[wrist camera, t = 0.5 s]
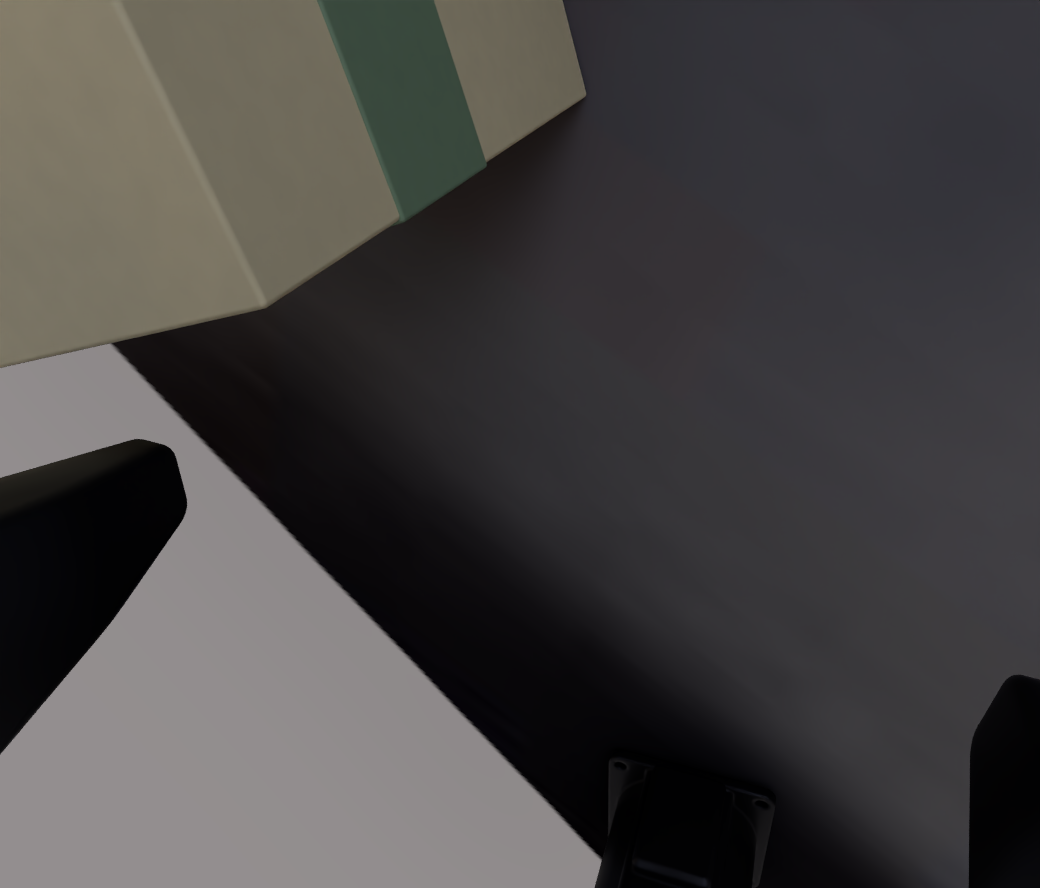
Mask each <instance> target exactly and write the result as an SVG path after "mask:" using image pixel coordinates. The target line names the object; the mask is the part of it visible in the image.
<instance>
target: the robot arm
mask: <svg viewBox="0 0 1040 888" xmlns="http://www.w3.org/2000/svg"><path fill="white" fill-rule="evenodd" d="M186 508H187V498H186V494H185V490H184V486H183V482H182V479H181V475H180V471H179V467H178V464H177V460H176V456H175V454H174V452H173V451H172V450H171V449H170V448H169V447H167V446H165V445H162V444H159V443H155V442H151V441H147V440H142V439H134V440H130V441H126V442H123V443H120V444H116V445H113V446H109V447H106V448H102V449H99V450H95V451H92V452H88V453H85V454H82V455H78V456H75V457H72V458H68V459H65V460H61V461H57V462H54V463H50V464H47V465H44V466H40V467H37V468H33V469H30V470H26V471H23V472H19V473H16V474H12V475H10V476H5V477H2V478H0V754H1V753H2V752H3V750H4V749H5V748H6V747H7V746H8V745H9V743H10V742H11V741H12V740H13V739H14V737H15V736H16V735H17V734H18V733H19V732H20V730H21V729H22V728H23V727H24V725H25V724H26V723H27V722H28V721H29V720H30V718H31V717H32V716H33V715H34V714H35V713H36V711H37V710H38V709H39V708H40V707H41V705H42V704H43V703H44V702H45V701H46V699H47V698H48V697H49V696H50V695H51V694H52V692H53V691H54V690H55V689H56V688H57V686H58V685H59V684H60V683H61V682H62V681H63V679H64V678H65V677H66V676H67V675H68V673H69V672H70V671H71V670H72V669H73V667H74V666H75V665H76V664H77V663H78V662H79V660H80V659H81V658H82V657H83V656H84V654H85V653H86V652H87V651H88V650H89V649H90V647H91V646H92V645H93V644H94V643H95V641H96V640H97V639H98V638H99V637H100V635H101V634H102V633H103V632H104V630H105V629H106V628H107V627H108V625H109V624H110V623H111V622H112V620H113V619H114V617H115V616H116V615H117V613H118V612H119V611H120V609H121V608H122V607H123V605H124V604H125V602H126V601H127V599H128V598H129V596H130V595H131V594H132V592H133V591H134V589H135V588H136V586H137V585H138V583H139V582H140V581H141V579H142V578H143V576H144V575H145V574H146V572H147V570H148V569H149V568H150V566H151V565H152V563H153V562H154V561H155V559H156V558H157V556H158V555H159V553H160V552H161V550H162V549H163V548H164V546H165V545H166V543H167V541H168V540H169V539H170V537H171V536H172V534H173V533H174V532H175V530H176V529H177V527H178V526H179V525H180V523H181V521H182V520H183V518H184V515H185V513H186ZM775 802H776V797H775V795H774V793H773V792H771V791H770V790H768V789H766V788H763V787H759V786H755V785H751V784H748V783H744V782H740V781H736V780H733V779H729V778H725V777H722V776H718V775H714V774H710V773H707V772H703V771H699V770H695V769H692V768H688V767H684V766H681V765H677V764H673V763H669V762H666V761H662V760H658V759H654V758H651V757H647V756H643V755H640V754H636V753H632V752H628V751H625V750H619V749H618V750H614V751H612V753H611V756H610V760H609V786H608V840H607V844H606V847H605V851H604V855H603V858H602V862H601V866H600V870H599V874H598V878H597V881H596V885H595V888H755V887H757V886H758V885H759V882H760V877H761V872H762V868H763V863H764V858H765V853H766V849H767V844H768V839H769V834H770V830H771V825H772V820H773V815H774V811H775ZM969 888H1040V680H1039V679H1035V678H1031V677H1028V676H1024V675H1013V676H1010V677H1009V678H1008V679H1007V680H1006V681H1005V682H1004V683H1003V685H1002V686H1001V688H1000V690H999V691H998V693H997V695H996V696H995V698H994V700H993V701H992V703H991V705H990V706H989V708H988V710H987V711H986V713H985V715H984V717H983V718H982V720H981V722H980V723H979V725H978V727H977V729H976V731H975V733H974V736H973V740H972V744H971V751H970V820H969Z"/></svg>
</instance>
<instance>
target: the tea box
mask: <svg viewBox="0 0 1040 888" xmlns="http://www.w3.org/2000/svg"><path fill="white" fill-rule="evenodd" d="M585 96H586V91H585V87H584V83H583V79H582V75H581V71H580V67H579V63H578V59H577V55H576V52H575V48H574V44H573V40H572V36H571V32H570V28H569V24H568V20H567V16H566V12H565V9H564V5H563V1H562V0H0V368H2V367H7V366H11V365H15V364H20V363H25V362H29V361H33V360H38V359H42V358H46V357H51V356H56V355H60V354H64V353H69V352H73V351H78V350H82V349H86V348H91V347H96V346H100V345H104V344H109V343H113V342H118V341H122V340H127V339H131V338H136V337H140V336H145V335H149V334H154V333H158V332H162V331H167V330H171V329H176V328H180V327H185V326H189V325H194V324H198V323H202V322H207V321H211V320H216V319H220V318H225V317H229V316H234V315H238V314H243V313H247V312H251V311H256V310H260V309H265V308H267V307H269V306H270V305H272V304H273V303H275V302H276V301H278V300H279V299H281V298H282V297H284V296H285V295H287V294H288V293H290V292H291V291H293V290H294V289H296V288H297V287H299V286H300V285H302V284H303V283H305V282H306V281H308V280H309V279H311V278H312V277H314V276H315V275H317V274H318V273H320V272H321V271H323V270H324V269H326V268H328V267H329V266H331V265H332V264H334V263H335V262H337V261H338V260H340V259H341V258H343V257H344V256H346V255H347V254H349V253H350V252H352V251H353V250H355V249H356V248H358V247H359V246H361V245H362V244H364V243H365V242H367V241H368V240H370V239H371V238H373V237H374V236H376V235H377V234H379V233H380V232H382V231H383V230H385V229H386V228H388V227H390V226H394V225H397V224H401V223H404V222H406V221H407V220H409V219H410V218H412V217H413V216H415V215H416V214H418V213H419V212H421V211H422V210H424V209H425V208H427V207H428V206H430V205H431V204H432V203H434V202H435V201H437V200H438V199H440V198H441V197H443V196H444V195H446V194H447V193H449V192H450V191H452V190H453V189H455V188H456V187H458V186H459V185H461V184H462V183H464V182H465V181H467V180H468V179H470V178H471V177H473V176H474V175H475V174H477V173H478V172H480V171H481V170H483V169H484V168H486V167H487V163H486V162H488V161H489V160H491V159H492V158H494V157H495V156H497V155H498V154H500V153H501V152H503V151H504V150H506V149H507V148H509V147H510V146H512V145H513V144H515V143H516V142H518V141H519V140H521V139H522V138H524V137H526V136H527V135H529V134H530V133H532V132H533V131H535V130H536V129H538V128H539V127H541V126H542V125H544V124H545V123H547V122H548V121H550V120H551V119H553V118H554V117H556V116H557V115H559V114H560V113H562V112H563V111H565V110H566V109H568V108H569V107H571V106H572V105H574V104H575V103H577V102H578V101H580V100H581V99H583V98H584V97H585Z"/></svg>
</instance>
